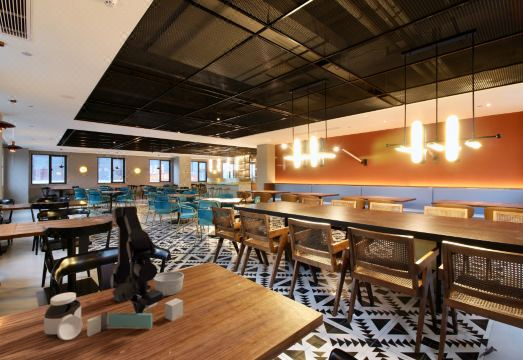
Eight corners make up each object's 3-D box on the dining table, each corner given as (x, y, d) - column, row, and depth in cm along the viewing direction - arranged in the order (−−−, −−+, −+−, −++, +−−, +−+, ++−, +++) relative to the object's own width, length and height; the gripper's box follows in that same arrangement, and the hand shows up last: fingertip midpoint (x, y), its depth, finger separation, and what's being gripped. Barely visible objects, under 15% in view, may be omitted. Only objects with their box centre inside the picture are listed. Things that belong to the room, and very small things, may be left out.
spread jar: (63, 322, 93) (64, 290, 93) (94, 323, 93) (95, 290, 93) (33, 343, 81) (33, 306, 81) (68, 344, 81) (69, 307, 81)
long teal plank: (108, 327, 89) (108, 314, 89) (110, 325, 90) (110, 313, 90) (150, 327, 89) (150, 315, 89) (152, 325, 90) (152, 313, 90)
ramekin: (172, 283, 129) (172, 269, 129) (189, 289, 121) (189, 274, 121) (147, 292, 118) (147, 277, 118) (164, 300, 111) (164, 283, 111)
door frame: (86, 334, 86) (86, 319, 86) (154, 303, 108) (154, 290, 108) (89, 337, 84) (90, 321, 84) (158, 304, 107) (158, 291, 107)
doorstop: (164, 318, 97) (165, 303, 97) (175, 312, 101) (175, 298, 101) (172, 321, 94) (172, 306, 94) (182, 315, 99) (183, 300, 99)
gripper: (101, 274, 89) (100, 319, 90) (133, 286, 80) (133, 337, 80) (131, 265, 99) (131, 306, 99) (164, 275, 89) (163, 320, 89)
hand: (138, 316), depth 92 cm, fingers closed
